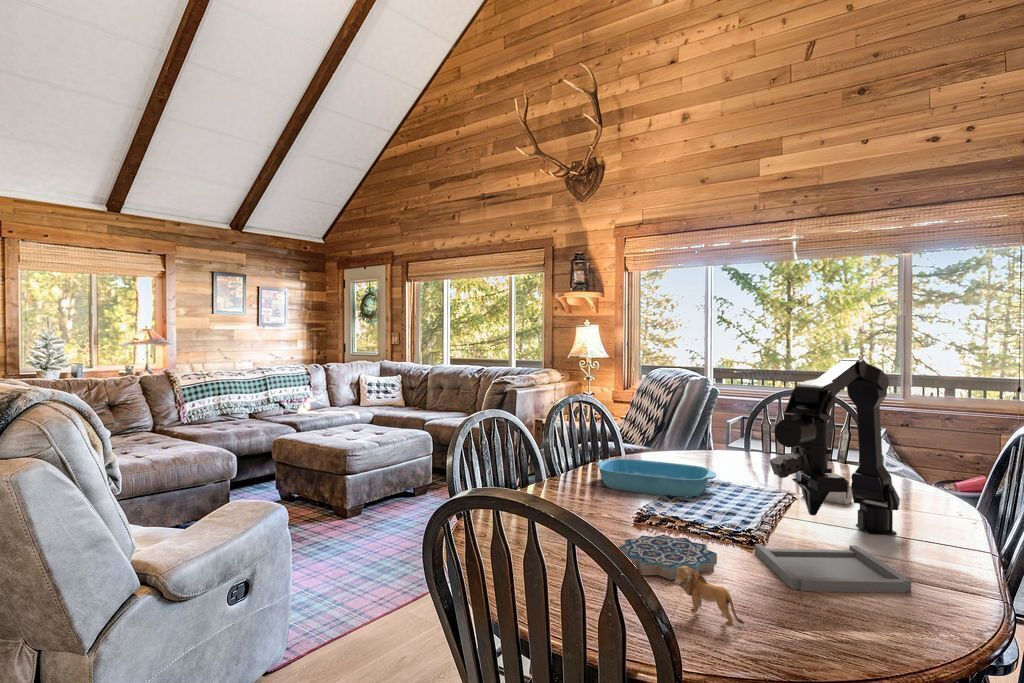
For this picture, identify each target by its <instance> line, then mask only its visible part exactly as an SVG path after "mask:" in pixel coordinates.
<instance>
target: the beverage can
mask: <svg viewBox="0 0 1024 683" xmlns="http://www.w3.org/2000/svg"><path fill="white" fill-rule="evenodd" d="M801 494H802V496H803V497H804V495H803V492H802V491H801ZM852 500H853V495H852V490H851V484H849V492H829V494H828V495H827V497H826V498H825V500H824V502H828V503H834V504H837V505H845V506H846V505H848V504H850V503H851V502H853V501H852Z"/></svg>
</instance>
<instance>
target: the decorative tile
mask: <svg viewBox="0 0 1024 683" xmlns="http://www.w3.org/2000/svg"><path fill="white" fill-rule="evenodd" d="M618 548H619V549H620V550H621V551H622V552H623V553H624V554H625V555H626V556H627V557H628V558H629V559H630V560H631V561H632V563H633V564H634V565H635V566H636V568H637V569H636V570H638V571H639V572H640V573H641V575H643V576H660V577H663V578H665V579H667V580H670V581H673V580H675V578H676V576H677V570H678V569H677V567H680V566H687V567H690V568H692V569H693V570H695V571H696V572H697V573H699V574H700V575H702V573H708V572H709V573H710V572H711V573H712V572H715V564H717V563H718V554H717V552H714V551H711V550H709V549H707V548H708V547H707V544H706V543H701V542H695V541H694V542H693V541H691V540H690V539H689V538H688V537H672V536H669V535H666V534H661V535H656V536H650V535H640V536H639V537H638V538H631V539H629V538H627V539H624V544H623V545H619V546H618V547H617V549H618Z"/></svg>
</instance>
